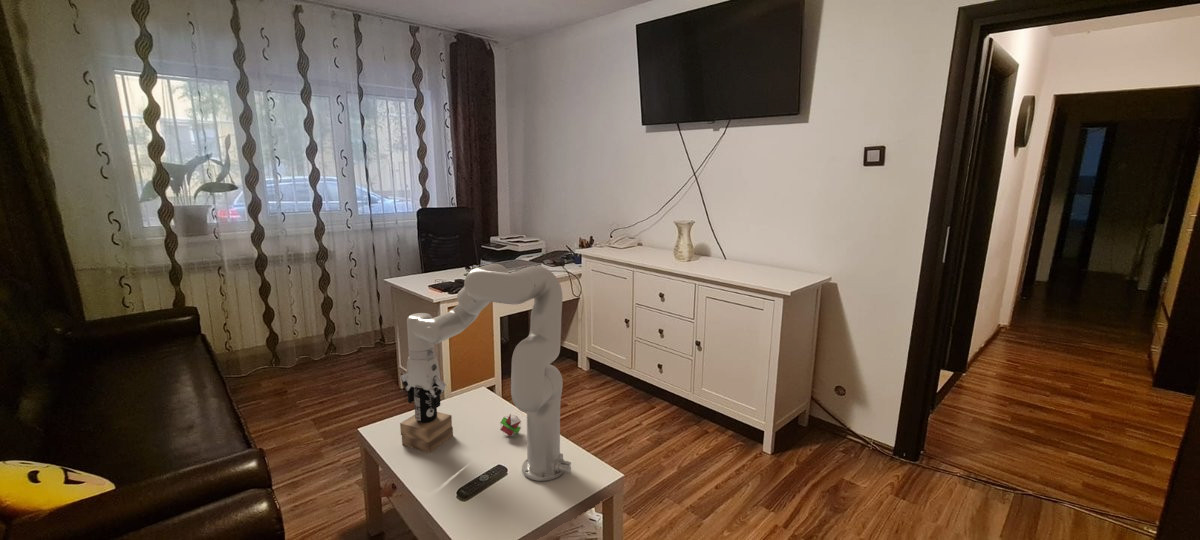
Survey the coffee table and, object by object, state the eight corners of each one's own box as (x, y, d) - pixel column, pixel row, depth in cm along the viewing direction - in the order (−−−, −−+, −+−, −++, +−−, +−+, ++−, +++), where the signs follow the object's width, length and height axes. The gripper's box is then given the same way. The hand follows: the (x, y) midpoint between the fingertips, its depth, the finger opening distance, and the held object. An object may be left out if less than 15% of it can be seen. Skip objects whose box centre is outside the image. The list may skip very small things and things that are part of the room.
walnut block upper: (451, 426, 166) (451, 415, 165) (428, 442, 156) (428, 430, 155) (425, 420, 170) (424, 408, 169) (400, 435, 160) (400, 423, 159)
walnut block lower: (453, 437, 166) (452, 426, 166) (429, 454, 157) (428, 442, 156) (427, 430, 171) (426, 419, 170) (402, 446, 161) (401, 434, 160)
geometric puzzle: (496, 441, 164) (496, 418, 162) (503, 430, 170) (502, 408, 169) (518, 442, 163) (518, 419, 161) (524, 432, 170) (523, 410, 168)
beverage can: (440, 414, 165) (438, 380, 163) (431, 424, 159) (430, 388, 156) (421, 413, 166) (419, 379, 164) (411, 423, 159) (409, 387, 157)
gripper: (451, 353, 158) (453, 405, 161) (409, 345, 165) (412, 394, 168) (434, 361, 151) (437, 414, 154) (391, 352, 158) (394, 403, 161)
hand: (424, 404), depth 161 cm, fingers open, 9 cm apart
